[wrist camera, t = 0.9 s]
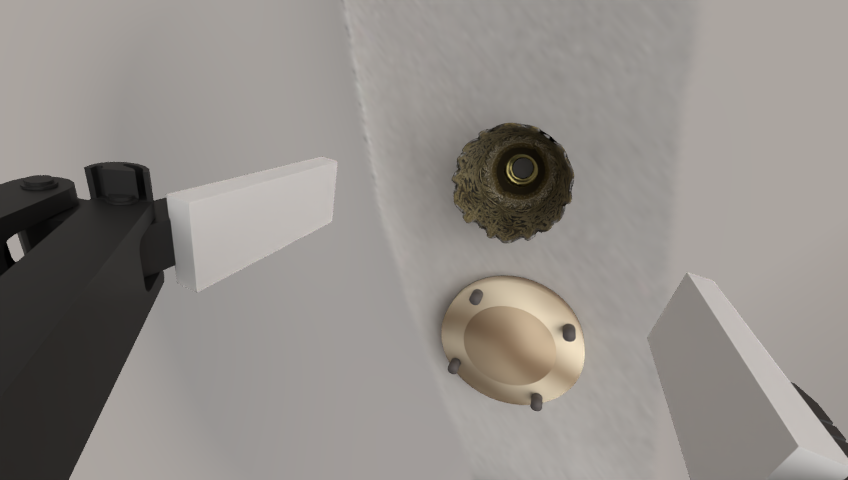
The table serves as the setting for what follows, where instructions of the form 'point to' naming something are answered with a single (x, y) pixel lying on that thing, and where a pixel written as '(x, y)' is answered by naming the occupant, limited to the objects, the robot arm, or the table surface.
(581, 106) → the table surface
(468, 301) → the seat plate
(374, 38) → the table surface
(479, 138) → the ornate scalloped bell shade
